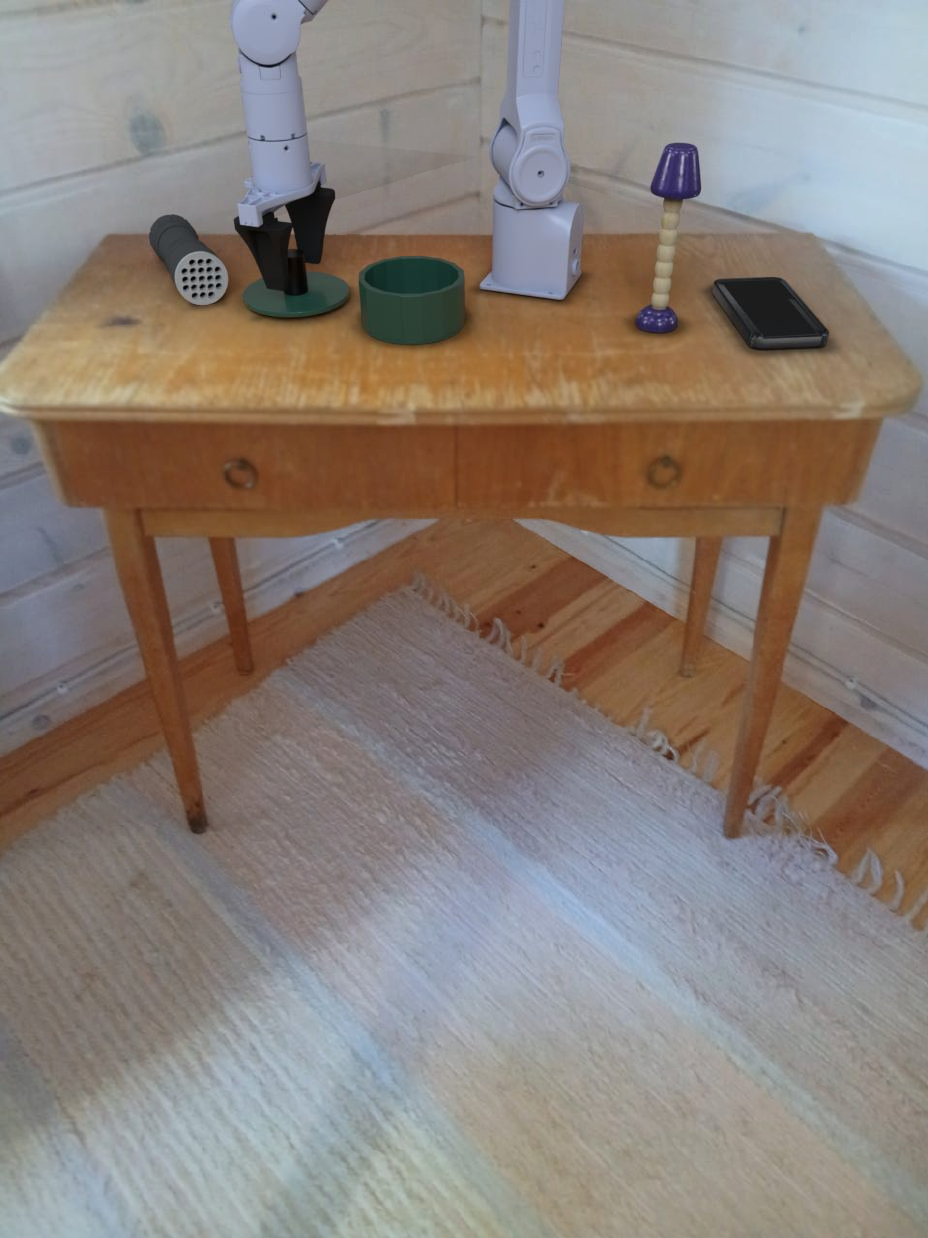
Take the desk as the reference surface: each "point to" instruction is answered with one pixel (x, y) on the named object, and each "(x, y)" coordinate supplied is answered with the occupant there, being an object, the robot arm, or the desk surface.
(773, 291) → the phone
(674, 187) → the toy lamp
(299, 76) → the robot arm
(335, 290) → the lid
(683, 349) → the desk surface
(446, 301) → the pot
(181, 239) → the flashlight
